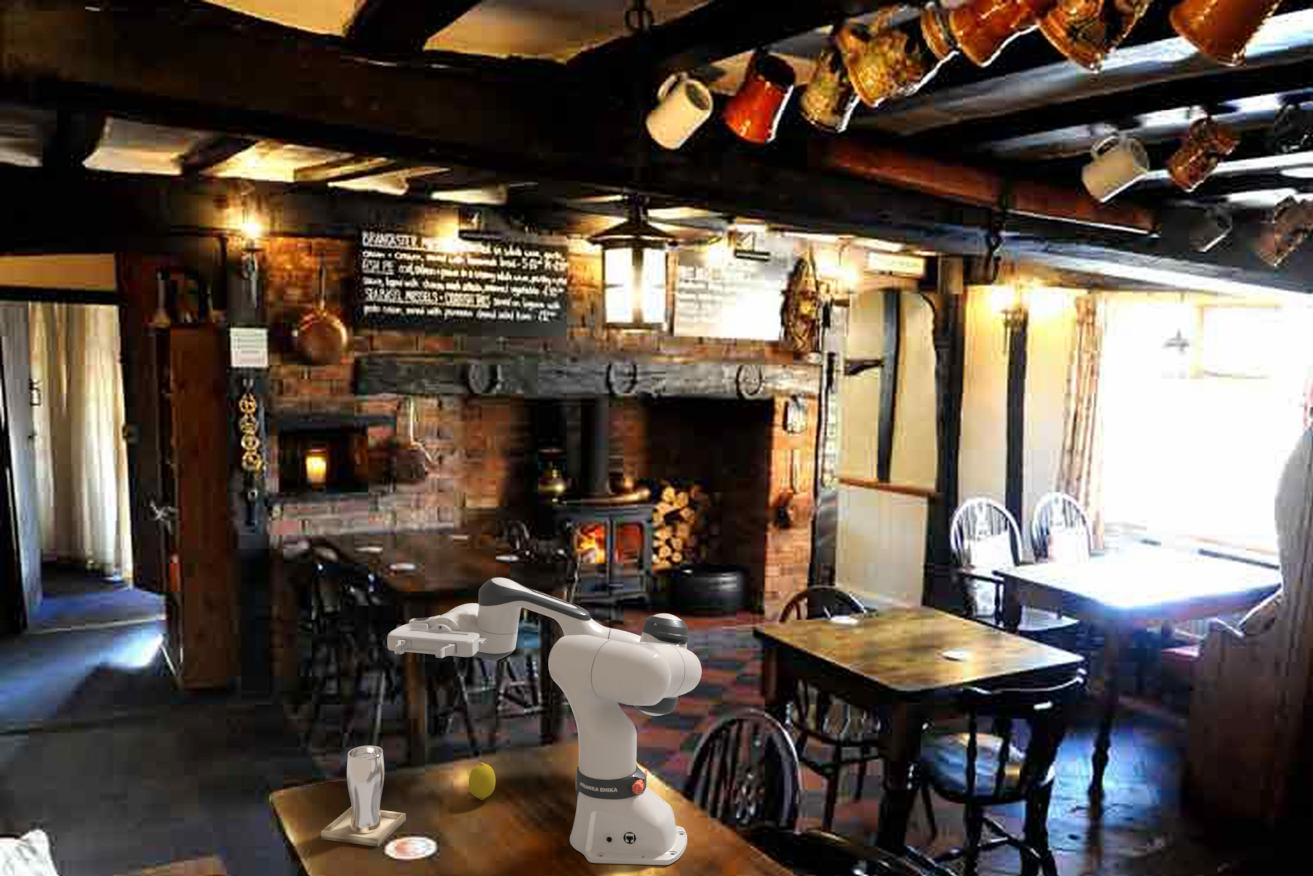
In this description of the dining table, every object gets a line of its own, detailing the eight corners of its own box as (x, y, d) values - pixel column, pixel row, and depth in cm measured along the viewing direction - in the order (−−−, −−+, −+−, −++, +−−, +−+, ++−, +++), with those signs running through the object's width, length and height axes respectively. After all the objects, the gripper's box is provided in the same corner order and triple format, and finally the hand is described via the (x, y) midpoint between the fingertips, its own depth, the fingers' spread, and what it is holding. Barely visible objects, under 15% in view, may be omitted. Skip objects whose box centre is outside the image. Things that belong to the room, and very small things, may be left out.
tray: (405, 820, 196) (405, 813, 196) (377, 846, 186) (377, 839, 185) (351, 813, 199) (351, 806, 199) (320, 839, 188) (320, 831, 188)
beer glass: (373, 837, 188) (372, 760, 187) (340, 832, 190) (339, 757, 188) (391, 820, 195) (390, 746, 194) (358, 816, 196) (358, 743, 195)
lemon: (463, 802, 205) (463, 765, 204) (479, 792, 210) (479, 755, 209) (484, 808, 202) (484, 770, 202) (501, 797, 207) (501, 760, 206)
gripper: (489, 652, 219) (463, 671, 206) (405, 645, 224) (374, 663, 211) (489, 624, 219) (463, 641, 206) (405, 617, 224) (374, 634, 210)
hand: (417, 652), depth 208 cm, fingers open, 8 cm apart
